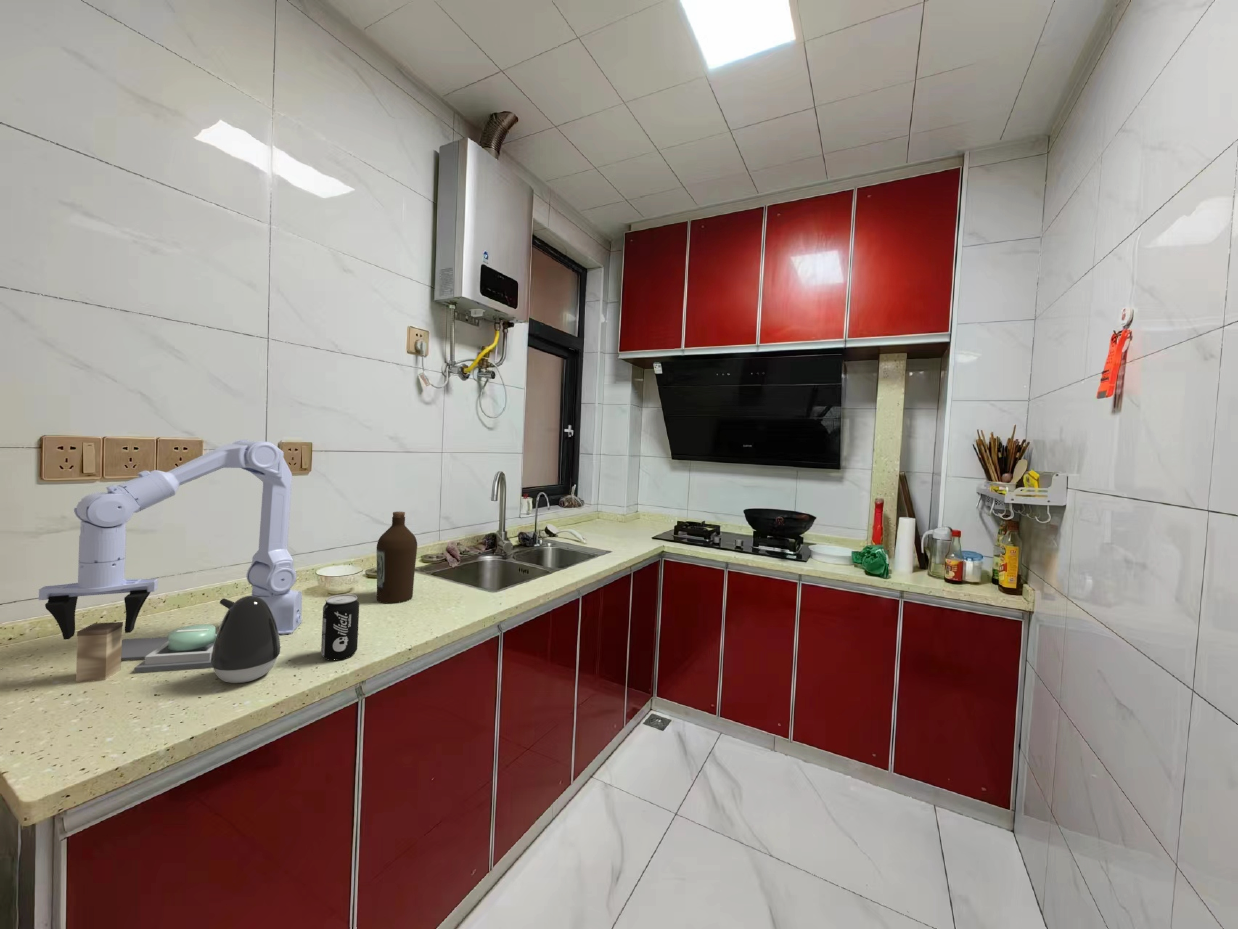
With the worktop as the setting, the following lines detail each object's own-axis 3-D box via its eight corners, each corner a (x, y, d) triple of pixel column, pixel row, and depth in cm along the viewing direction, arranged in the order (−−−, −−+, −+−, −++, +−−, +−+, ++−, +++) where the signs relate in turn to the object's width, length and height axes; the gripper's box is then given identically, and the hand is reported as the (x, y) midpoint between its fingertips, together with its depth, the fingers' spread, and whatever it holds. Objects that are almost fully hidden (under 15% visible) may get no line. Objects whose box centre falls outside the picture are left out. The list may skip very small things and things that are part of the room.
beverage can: (364, 651, 102) (366, 596, 102) (337, 664, 96) (339, 605, 95) (341, 646, 104) (343, 591, 104) (313, 657, 98) (315, 600, 97)
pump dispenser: (240, 662, 94) (243, 586, 94) (292, 666, 94) (295, 590, 93) (193, 687, 84) (196, 602, 83) (250, 692, 84) (253, 607, 83)
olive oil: (410, 591, 144) (414, 509, 143) (418, 601, 136) (422, 514, 135) (371, 595, 138) (375, 510, 137) (377, 606, 129) (381, 515, 129)
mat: (182, 638, 103) (182, 636, 103) (154, 658, 93) (154, 655, 93) (123, 642, 100) (123, 639, 100) (88, 663, 90) (88, 660, 90)
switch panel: (240, 642, 103) (241, 631, 103) (213, 667, 91) (213, 654, 91) (171, 646, 99) (172, 634, 99) (134, 673, 88) (134, 659, 87)
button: (221, 635, 99) (222, 622, 99) (204, 649, 93) (205, 635, 93) (180, 637, 97) (180, 624, 97) (159, 651, 91) (160, 638, 91)
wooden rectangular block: (121, 669, 89) (122, 622, 88) (105, 680, 85) (107, 630, 84) (92, 671, 87) (94, 623, 87) (75, 682, 83) (77, 631, 83)
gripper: (163, 552, 93) (160, 621, 93) (53, 557, 85) (51, 632, 85) (152, 560, 87) (149, 634, 87) (33, 566, 79) (30, 647, 79)
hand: (99, 634), depth 86 cm, fingers open, 7 cm apart
